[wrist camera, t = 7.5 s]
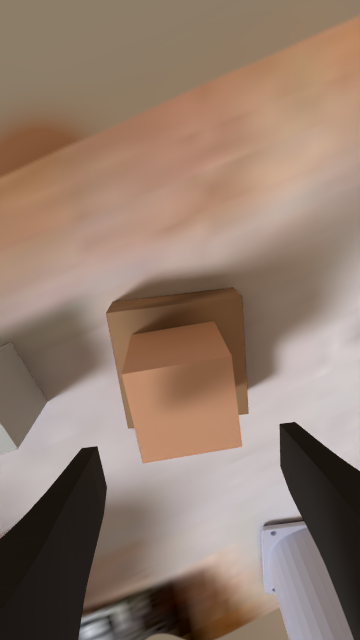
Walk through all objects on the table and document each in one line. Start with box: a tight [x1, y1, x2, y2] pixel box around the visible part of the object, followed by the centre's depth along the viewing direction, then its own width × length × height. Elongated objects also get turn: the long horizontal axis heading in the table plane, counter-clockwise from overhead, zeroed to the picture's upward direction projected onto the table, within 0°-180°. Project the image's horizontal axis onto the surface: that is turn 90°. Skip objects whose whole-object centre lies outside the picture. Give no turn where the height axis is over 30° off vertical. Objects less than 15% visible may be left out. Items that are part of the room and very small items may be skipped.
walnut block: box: [106, 288, 248, 428], centre depth 22 cm, size 8×8×3 cm
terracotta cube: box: [122, 321, 242, 463], centre depth 18 cm, size 5×5×5 cm
